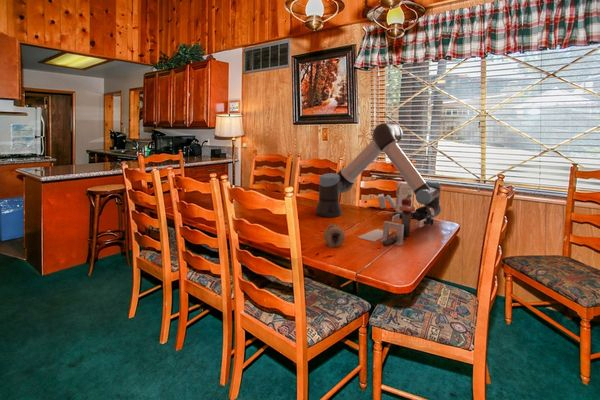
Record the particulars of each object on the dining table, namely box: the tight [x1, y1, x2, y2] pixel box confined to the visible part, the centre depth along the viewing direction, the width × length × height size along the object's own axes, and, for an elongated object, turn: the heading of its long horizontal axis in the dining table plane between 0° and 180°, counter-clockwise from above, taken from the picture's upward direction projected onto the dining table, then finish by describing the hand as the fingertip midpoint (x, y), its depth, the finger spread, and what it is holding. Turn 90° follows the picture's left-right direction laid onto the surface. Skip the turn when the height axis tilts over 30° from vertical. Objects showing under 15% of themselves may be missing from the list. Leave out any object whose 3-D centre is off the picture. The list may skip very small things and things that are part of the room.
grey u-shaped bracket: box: [380, 220, 405, 247], centre depth 171 cm, size 9×5×9 cm, turn 50°
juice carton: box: [395, 181, 414, 213], centre depth 225 cm, size 8×9×19 cm
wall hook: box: [377, 193, 396, 210], centre depth 239 cm, size 8×10×10 cm
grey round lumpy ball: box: [323, 223, 346, 248], centre depth 167 cm, size 9×8×10 cm
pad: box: [357, 228, 394, 243], centre depth 182 cm, size 9×18×1 cm, turn 140°
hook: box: [382, 205, 416, 247], centre depth 174 cm, size 7×24×14 cm, turn 140°
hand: (406, 221), depth 179 cm, fingers open, 13 cm apart
